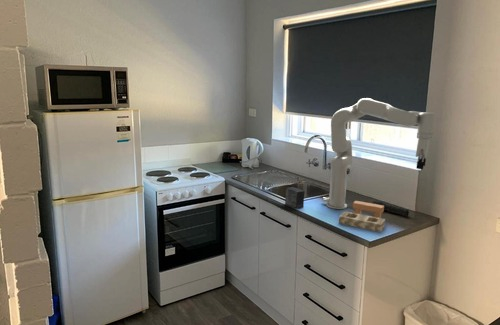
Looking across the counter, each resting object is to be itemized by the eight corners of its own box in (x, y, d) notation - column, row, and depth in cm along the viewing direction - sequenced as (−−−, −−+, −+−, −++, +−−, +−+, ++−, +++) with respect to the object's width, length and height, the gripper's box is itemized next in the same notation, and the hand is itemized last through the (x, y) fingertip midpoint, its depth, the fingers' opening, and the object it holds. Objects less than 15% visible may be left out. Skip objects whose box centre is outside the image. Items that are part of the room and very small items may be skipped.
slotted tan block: (338, 223, 207) (339, 216, 206) (344, 217, 215) (344, 211, 215) (380, 232, 196) (381, 224, 195) (384, 226, 205) (385, 219, 204)
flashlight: (375, 207, 237) (376, 199, 236) (408, 216, 222) (409, 207, 221) (371, 208, 233) (372, 201, 232) (405, 218, 219) (406, 209, 218)
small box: (304, 207, 232) (305, 190, 230) (296, 209, 228) (297, 192, 226) (292, 202, 240) (293, 186, 238) (284, 204, 237) (285, 187, 234)
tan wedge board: (351, 216, 219) (353, 202, 217) (354, 213, 223) (355, 200, 221) (380, 221, 211) (382, 208, 209) (382, 219, 215) (384, 205, 213)
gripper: (418, 133, 213) (415, 163, 217) (414, 137, 198) (411, 169, 202) (433, 134, 209) (429, 165, 213) (430, 138, 195) (426, 171, 198)
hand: (420, 167), depth 207 cm, fingers open, 9 cm apart
